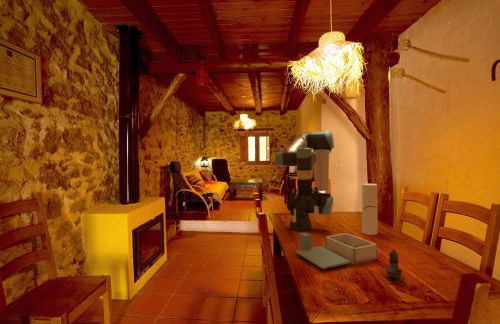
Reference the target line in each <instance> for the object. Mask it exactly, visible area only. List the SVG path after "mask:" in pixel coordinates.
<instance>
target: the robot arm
mask: <svg viewBox="0 0 500 324" xmlns="http://www.w3.org/2000/svg"><path fill="white" fill-rule="evenodd" d="M334 148H335V141H334V137H333V133H332V131H329V130H320V131H306V132H303V133H301V134H299V135H298V136H296V137H295V138H294V139H293V141H292V143H291V144H290V145H289V146H288V147H287V148H286V149H285V150H284V151H279V152H276V154H275V155H274V156H275V158H274V159H275V164H276V165H277V166H281V167H282V166H283V167H285V166H286V167H287V166H296V178H297V180H296V186H297V189H296V188H292V189H291V194H290V197H289V199H288V202H287V204H286V208H287V209H289V213H290V220H289V224H288V228H289V229H290V230H291V231H292V230H293V231H296V232H298V231H299V232H307V231H311V230H313V224H312V221H311V218H310V214H313V218H314V219H316V220H319V219H320V218H319V217H320V215H330V214H331V213H332V210H333V205H334V197H333V196H332V194H331V192H330V191H329V178H330V176H329V173H330V172H329V168H330V165H329V163H330V154H331V153H332V149H334ZM313 165H314V186H313V179H312V178H313Z"/></svg>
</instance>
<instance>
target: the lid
mask: <svg viewBox="0 0 500 324" xmlns="http://www.w3.org/2000/svg"><path fill="white" fill-rule="evenodd" d="M298 236H299V248H300V249H299V250H298V249H297V250H296V251H295V253H296V255H297V254H298V255H299V256H301V257H302V258H303V259H305V260H307V261H309V262H310V263H311V264H314V265H315V266H317V267H319V268H320V269H322V270H325V269H328V268H336V267H339V266H343V265H347V264H351V263H350V261H349V260H347V259H345V258H343V257H341V256H339V255H337V254H335V253H333V252H331V251H329V250H327V249H325V247H323V246H321V245H319V246H315V247H313V246H312V245H313V240H312V239H313V237H312V236H313V235H312V234H309V233H307V232H300V233H299V235H298Z"/></svg>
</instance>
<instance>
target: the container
mask: <svg viewBox="0 0 500 324" xmlns="http://www.w3.org/2000/svg"><path fill="white" fill-rule="evenodd" d="M361 215H362V217H361V222H362V223H361V225H362V227H361V229H362V234H364V235H367V236H377V235H378V231H379V230H378V183H362V184H361Z"/></svg>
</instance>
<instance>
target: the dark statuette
mask: <svg viewBox="0 0 500 324" xmlns="http://www.w3.org/2000/svg"><path fill="white" fill-rule="evenodd" d="M388 261H389V266H387V267H385V271H386V274H387V276H386V279H387V281H390V282H393V283H400V282H402V278H400V277H401V276H402V273H403V270H402V269H401V268H399V262H400V261H399V253H398V252H397V251H396V250H395V249H394V248H393V249H392V250H390V251H389V259H388Z"/></svg>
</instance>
